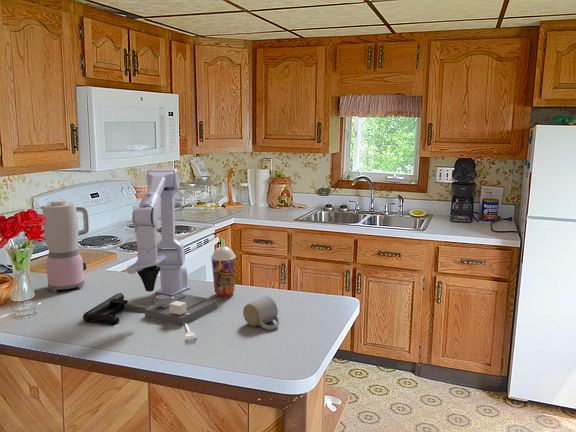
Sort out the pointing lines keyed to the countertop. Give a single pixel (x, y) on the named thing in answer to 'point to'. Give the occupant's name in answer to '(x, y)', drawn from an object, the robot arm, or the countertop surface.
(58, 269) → the blender
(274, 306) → the ceramic mug
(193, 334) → the fork
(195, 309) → the gray slider board
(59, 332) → the countertop surface
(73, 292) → the countertop surface
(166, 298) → the steel fader
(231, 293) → the smoothie
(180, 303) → the block
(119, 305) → the gun
